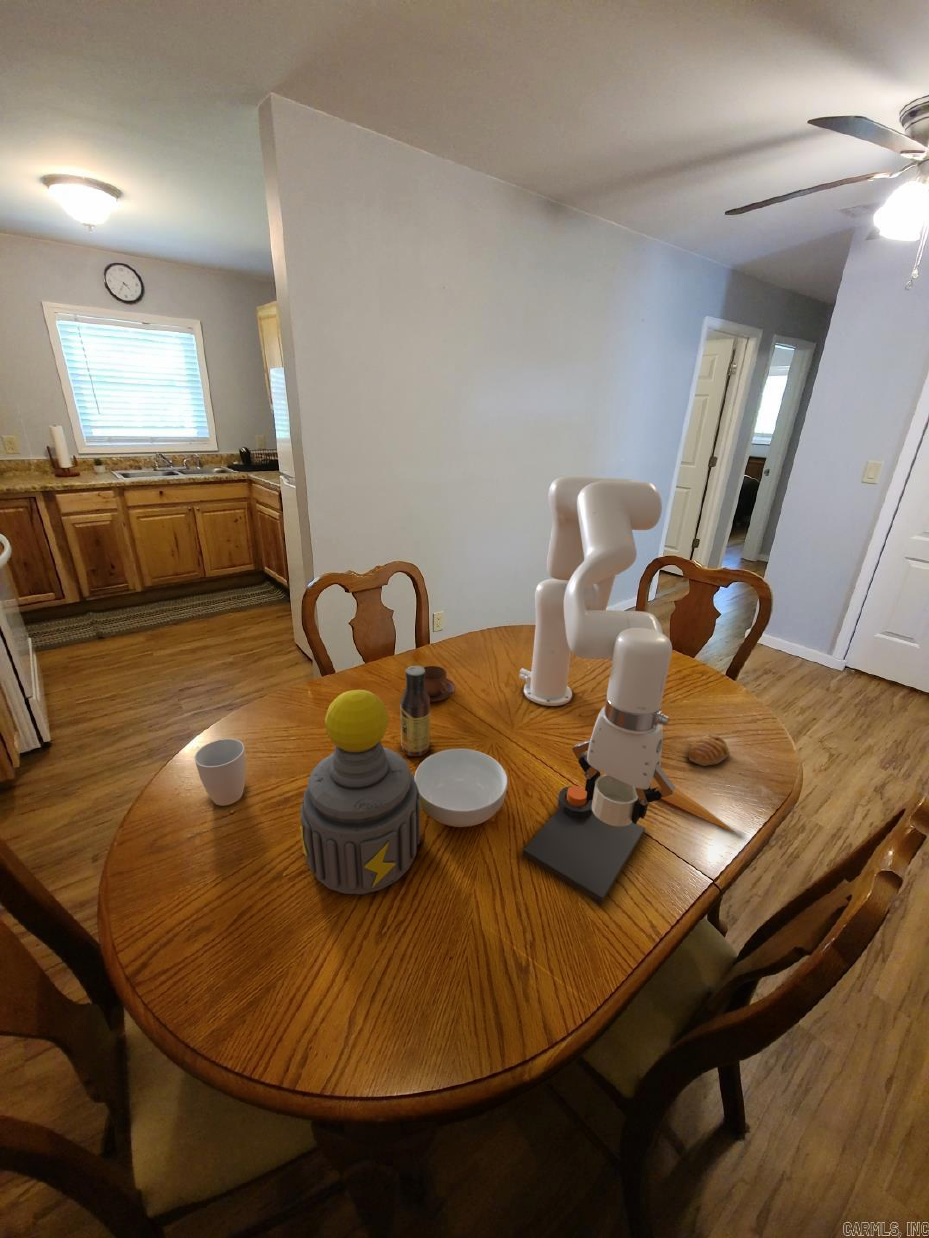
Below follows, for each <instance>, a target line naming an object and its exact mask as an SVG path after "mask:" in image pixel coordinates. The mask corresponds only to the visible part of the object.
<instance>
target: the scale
mask: <svg viewBox="0 0 929 1238" xmlns="http://www.w3.org/2000/svg"><path fill="white" fill-rule="evenodd" d="M571 786H572V785H568V786H565V787H563V788H562V789H561V790H560V791H559V792H558V796H557V806H558V809H557V810H556V812H554V813H553V815H552V816H551V817H550V818H549V819H548V820H547V822H546V823H545V824H544V825H543V827H542V828H541V829H540V830H539V831H538V832H537V833H536V835H534V837H533V838H532V839H531V840H530V841H529V843H528V844H527V845H526V846H525V847H524V849H523V852H522V856H523V857H525V858H526V859H528V860H529V861H531V862H532V863H534V864H535V865H537V866H539V867H540V868H542V869H544V870H546V871H547V872H549V874H552V875H553V876H555V877H557V878H559V879H560V880H561V881H563V882H565V883H567V884H568V885H570V886H571V887H572V888H574V889H576V890H578V891H579V892H581V893H583V894H584V895H585V896H587V897H589V898H590V899H592V900H594V901H595V902H597V903H599V904H600V905H602V904H603V903H604V901H605V900H606V898H607V896H608V895H609V893H610V892H611V890H612V888H613V886H614V884H615V883H616V882H617V880H618V878H619V876H620V875H621V873H622V871H623V869H624V868H625V866H626V865H627V863H628V861H629V860H630V858H631V856H632V854H633V853H634V851H635V849H636V848H637V846H638V844H639V843H640V841H641V839H642V838H643V837H644V834H645V832H646V831H645V830H646V827H644V826H642V825H641V824H639V823H638V822H637V823H636V824H634V823H631V824H629V825H627V826H612V825H609V824H606V823H604V822H602V821H601V820H599V819H598V818H597V817H596V816H595V814H594V813H593V811H592V807H591V805H592V800H591V801H588V800H587V801H586V804H585V805H584V806H582V807H577V806H573V805H571V804H569V803H568V801H567V791H568V788H569V787H571Z"/></svg>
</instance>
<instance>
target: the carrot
mask: <svg viewBox="0 0 929 1238" xmlns="http://www.w3.org/2000/svg"><path fill="white" fill-rule="evenodd" d="M651 787H652V789H653V788H656V787H660V785H659V784H658V783H657V781H656V780H655V779H654V777H653V780H652V783H651ZM660 800H663V801H665V802H667V803H668V804H671V805H673V806H675V807H677V808H679V809H682V810H684V811H685V812H688V813H689V814H692V815H694V816H696V817H698V818H700V819H703V820H705V821H706V822H709V823H712V824H714V825H716V826H718V827H720V828H723V829H725V830H728V831H731V832H733V833H735V834H738V833H737V832H736V831H735V829H732V828H731V827H730V826H728V825H727V824H726V823H725V822H723V821H722V820H720V818H718V817H717V816H716V815H714V814H713V813H712V812H710V811H709V810H708V809H707V808H705V807H703V806H702V805H700V804H699V803H698V802H696V801H695V800H694V799H692V798H691V797H690V796H688V795H687V794H685V793H684V792H682V791H681V790H679V789H678V788H676V787H675V790H674V792H673V794H672V795H669V796H666V797H664V798H660Z"/></svg>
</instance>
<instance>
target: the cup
mask: <svg viewBox="0 0 929 1238" xmlns="http://www.w3.org/2000/svg"><path fill="white" fill-rule="evenodd" d="M194 762H195V765H196V766H195V767H196V769H197V772H198V776H199V778H200V781H201V783H202V785H203V787H204V789H205V791H206V793H207V795H208V796H209V798H210V799H211V801H212V802H213V803H214V804H215V805H217V806H221V807H223V806H229V805H232V804H234V803H236V802H238V801H239V800H240V799H241V798H242V797H243V795H244V790H245V789H244V788H245V784H246V772H247V762H246V753H245V745H244V743H243V742H242V741H240V740H238V739H236V738H221V739H217V740H213V741H210V742H207V743H206V744H205V745H203V746H201V747H200V748H199V749H198V750H197V751H196V753H195V755H194Z"/></svg>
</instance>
